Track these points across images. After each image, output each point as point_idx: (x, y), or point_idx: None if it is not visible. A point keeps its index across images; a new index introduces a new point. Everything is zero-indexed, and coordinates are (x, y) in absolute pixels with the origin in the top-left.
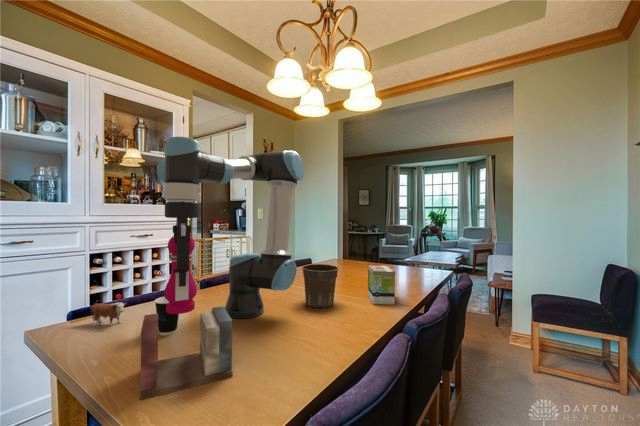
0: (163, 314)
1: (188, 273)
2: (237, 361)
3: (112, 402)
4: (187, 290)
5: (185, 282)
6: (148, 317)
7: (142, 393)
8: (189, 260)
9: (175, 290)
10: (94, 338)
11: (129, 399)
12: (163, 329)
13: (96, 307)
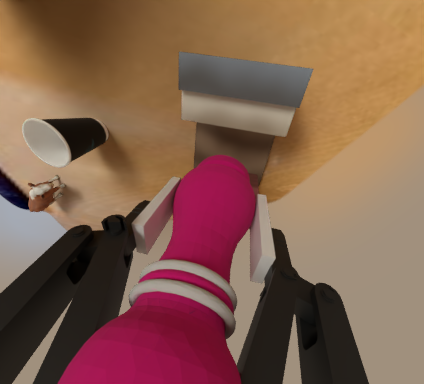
0: (85, 149)
1: (274, 251)
2: (252, 50)
3: None
4: (267, 211)
5: (285, 241)
6: None
7: (258, 186)
8: (227, 282)
9: (250, 233)
10: (99, 200)
11: None
12: (102, 141)
13: (39, 208)
